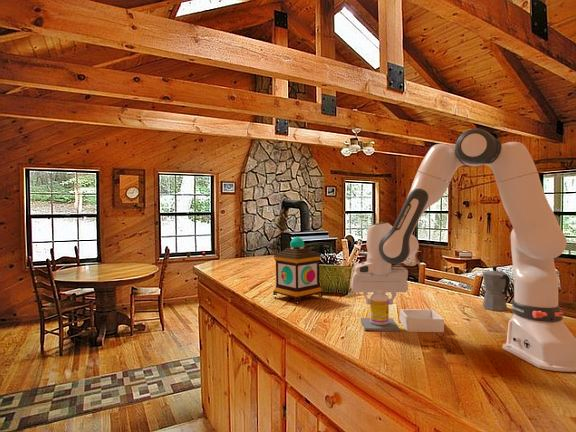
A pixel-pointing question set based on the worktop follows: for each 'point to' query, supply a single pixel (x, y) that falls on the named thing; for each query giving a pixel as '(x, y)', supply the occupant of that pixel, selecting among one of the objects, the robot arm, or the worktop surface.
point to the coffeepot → (495, 290)
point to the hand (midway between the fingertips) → (379, 304)
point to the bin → (421, 320)
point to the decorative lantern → (297, 271)
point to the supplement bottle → (379, 308)
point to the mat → (388, 327)
